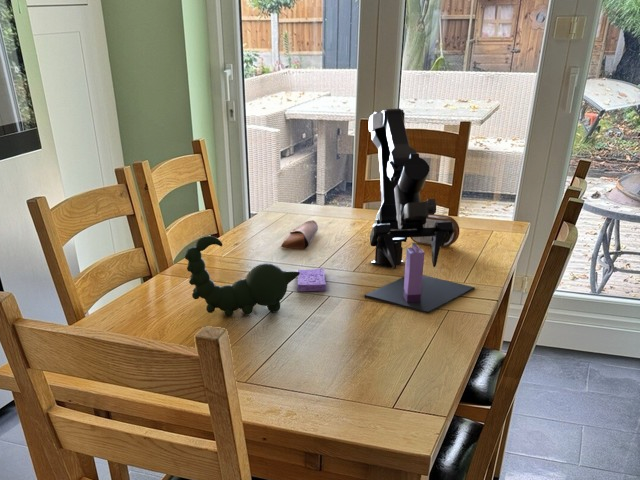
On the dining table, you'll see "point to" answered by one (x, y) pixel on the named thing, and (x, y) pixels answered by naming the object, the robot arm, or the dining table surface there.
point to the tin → (430, 223)
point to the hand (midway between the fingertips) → (415, 267)
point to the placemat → (422, 294)
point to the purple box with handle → (413, 274)
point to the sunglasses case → (301, 236)
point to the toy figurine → (237, 284)
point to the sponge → (311, 280)
